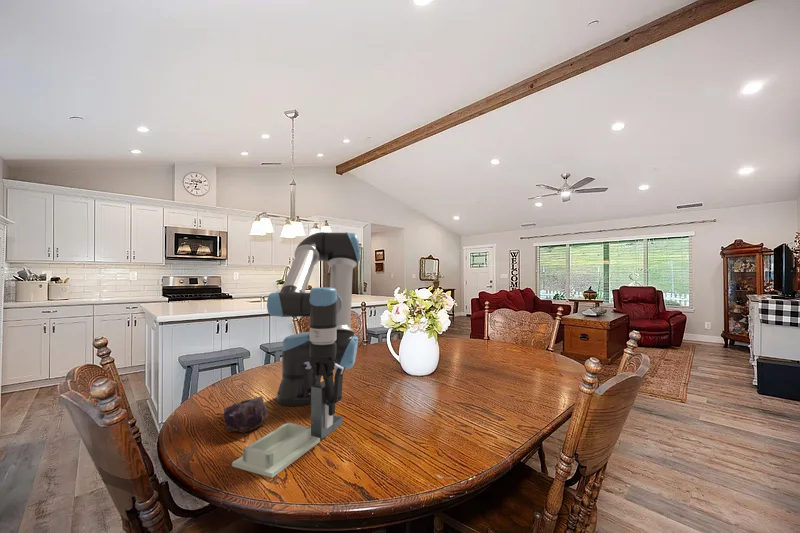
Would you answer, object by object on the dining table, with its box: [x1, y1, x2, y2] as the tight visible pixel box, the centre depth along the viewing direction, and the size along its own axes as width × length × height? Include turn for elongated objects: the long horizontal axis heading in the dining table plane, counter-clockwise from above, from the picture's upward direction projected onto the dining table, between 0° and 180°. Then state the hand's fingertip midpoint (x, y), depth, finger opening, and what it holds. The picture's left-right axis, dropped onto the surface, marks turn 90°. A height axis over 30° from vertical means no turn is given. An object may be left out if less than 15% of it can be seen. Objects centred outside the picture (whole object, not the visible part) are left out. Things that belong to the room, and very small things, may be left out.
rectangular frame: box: [231, 422, 321, 479], centre depth 88 cm, size 12×18×4 cm, turn 158°
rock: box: [223, 395, 269, 434], centre depth 102 cm, size 12×9×10 cm
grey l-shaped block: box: [310, 380, 344, 441], centre depth 101 cm, size 4×11×14 cm, turn 158°
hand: (322, 424), depth 99 cm, fingers closed on grey l-shaped block, 3 cm apart
